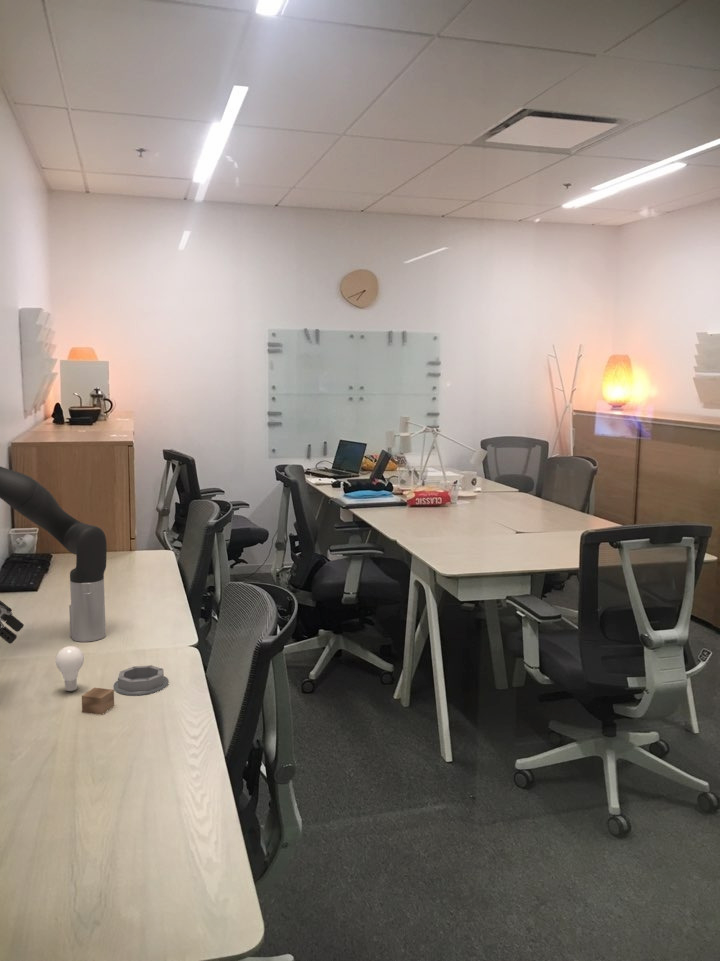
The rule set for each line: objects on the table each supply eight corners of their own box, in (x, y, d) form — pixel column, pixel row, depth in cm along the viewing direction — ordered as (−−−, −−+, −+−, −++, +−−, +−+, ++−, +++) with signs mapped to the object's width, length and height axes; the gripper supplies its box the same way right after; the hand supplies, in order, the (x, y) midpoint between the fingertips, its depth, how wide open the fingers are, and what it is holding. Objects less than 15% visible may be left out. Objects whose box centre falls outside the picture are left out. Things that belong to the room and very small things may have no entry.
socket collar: (102, 687, 187) (101, 675, 187) (144, 671, 198) (143, 660, 198) (138, 700, 180) (138, 687, 180) (179, 682, 191) (179, 670, 190)
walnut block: (82, 712, 173) (81, 695, 173) (95, 704, 178) (94, 687, 177) (101, 715, 172) (101, 698, 171) (114, 706, 177) (113, 689, 176)
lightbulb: (90, 687, 187) (89, 644, 186) (72, 697, 181) (71, 652, 180) (69, 684, 189) (67, 641, 188) (50, 694, 183) (49, 649, 182)
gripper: (-42, 593, 183) (12, 636, 187) (-60, 610, 169) (-1, 656, 173) (-19, 570, 184) (34, 614, 188) (-35, 585, 170) (23, 632, 174)
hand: (17, 634), depth 181 cm, fingers open, 8 cm apart
